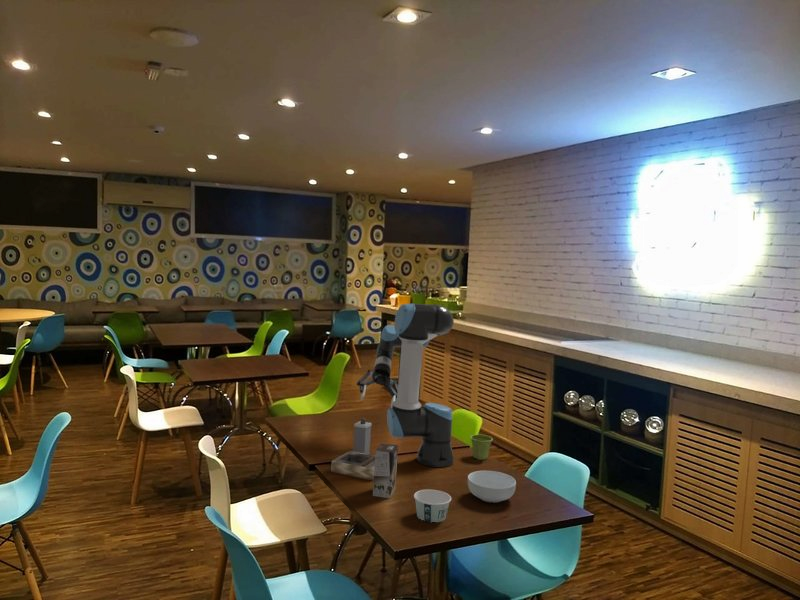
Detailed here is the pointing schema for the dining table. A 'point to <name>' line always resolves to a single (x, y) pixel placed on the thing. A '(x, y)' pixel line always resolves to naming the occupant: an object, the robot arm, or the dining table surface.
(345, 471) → the tray
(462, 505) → the dining table surface
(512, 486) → the cereal bowl
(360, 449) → the grey pepper mill
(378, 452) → the coffee box
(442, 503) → the food container
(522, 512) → the dining table surface
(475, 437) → the plant pot
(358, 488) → the dining table surface
